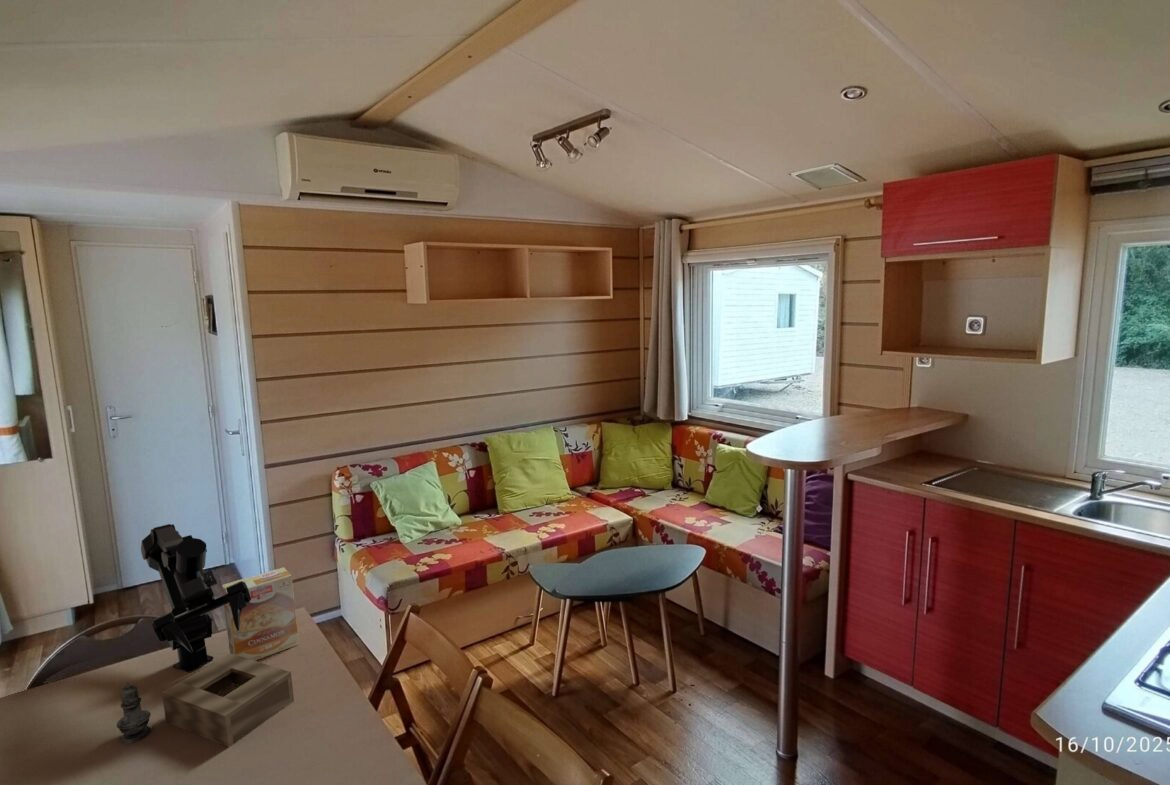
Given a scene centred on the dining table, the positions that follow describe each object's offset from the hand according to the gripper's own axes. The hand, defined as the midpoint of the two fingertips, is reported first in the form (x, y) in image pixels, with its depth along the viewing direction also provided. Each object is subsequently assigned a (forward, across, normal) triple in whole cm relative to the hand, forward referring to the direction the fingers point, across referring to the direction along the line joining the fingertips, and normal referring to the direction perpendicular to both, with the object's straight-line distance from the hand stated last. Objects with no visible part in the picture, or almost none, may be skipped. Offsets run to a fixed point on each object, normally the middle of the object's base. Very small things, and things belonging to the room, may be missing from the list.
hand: (215, 640), depth 139 cm
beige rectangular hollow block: (+10, -2, +13) cm, 17 cm away
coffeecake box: (-7, +9, +26) cm, 29 cm away
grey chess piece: (+5, -19, +13) cm, 23 cm away
